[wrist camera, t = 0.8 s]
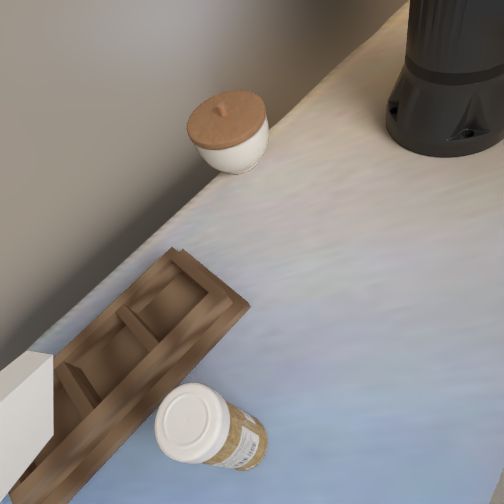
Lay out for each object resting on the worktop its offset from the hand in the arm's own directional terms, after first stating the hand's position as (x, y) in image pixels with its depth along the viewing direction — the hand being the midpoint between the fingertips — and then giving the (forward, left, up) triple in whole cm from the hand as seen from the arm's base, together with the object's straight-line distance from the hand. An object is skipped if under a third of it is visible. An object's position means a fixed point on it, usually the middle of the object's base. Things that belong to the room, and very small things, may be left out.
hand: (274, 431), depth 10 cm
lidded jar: (-22, -34, -25) cm, 48 cm away
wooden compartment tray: (+8, -22, -25) cm, 34 cm away
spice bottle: (+4, -7, -25) cm, 26 cm away
